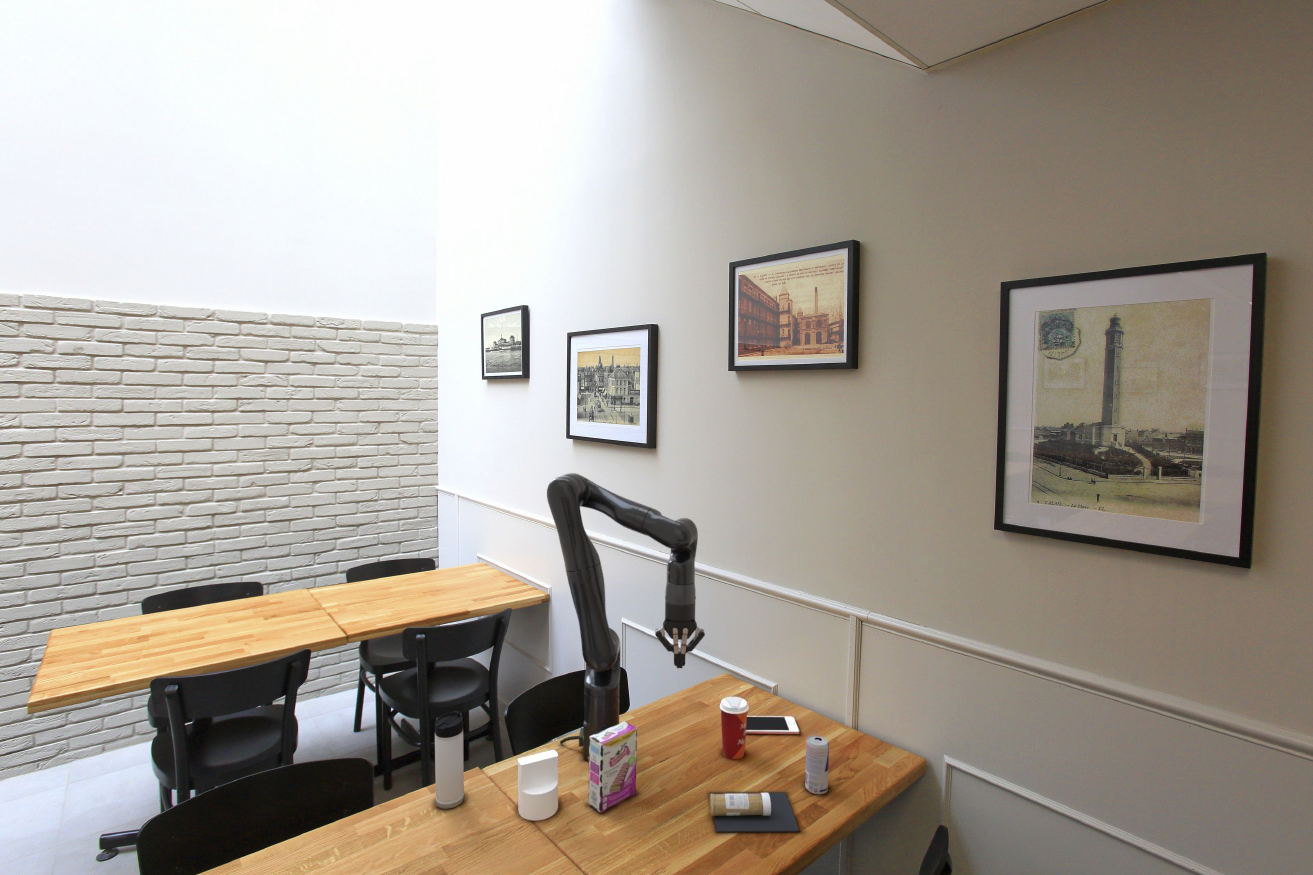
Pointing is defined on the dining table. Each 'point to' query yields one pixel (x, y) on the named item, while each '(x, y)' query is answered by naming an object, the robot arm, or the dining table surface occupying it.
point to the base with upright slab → (538, 785)
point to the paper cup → (733, 726)
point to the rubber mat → (760, 818)
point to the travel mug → (449, 760)
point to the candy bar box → (612, 766)
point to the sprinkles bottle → (740, 804)
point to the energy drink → (817, 764)
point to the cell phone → (771, 725)
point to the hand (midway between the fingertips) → (679, 666)
